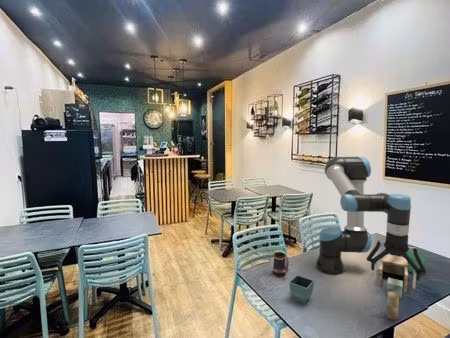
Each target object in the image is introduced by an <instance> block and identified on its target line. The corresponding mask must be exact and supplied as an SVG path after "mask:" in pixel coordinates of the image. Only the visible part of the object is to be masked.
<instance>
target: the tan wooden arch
mask: <svg viewBox="0 0 450 338" xmlns="http://www.w3.org/2000/svg"><path fill="white" fill-rule="evenodd" d="M407 267H408V264H407V260H406V259H405V258H404V257H403V256H396V255H391V254H387V255H385V256H384V257H383V258H381V259H380V262H379V270H378V271H379V275H378V286H379V287H382V286H383V285H382V283H383V276H384V275H383V274H384V273H383V272H385V273H389V274H393V275H399V276H403V277H402V281H403V292H404V293H406V294H407V293H408V281H409V270H408V268H407Z"/></svg>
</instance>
